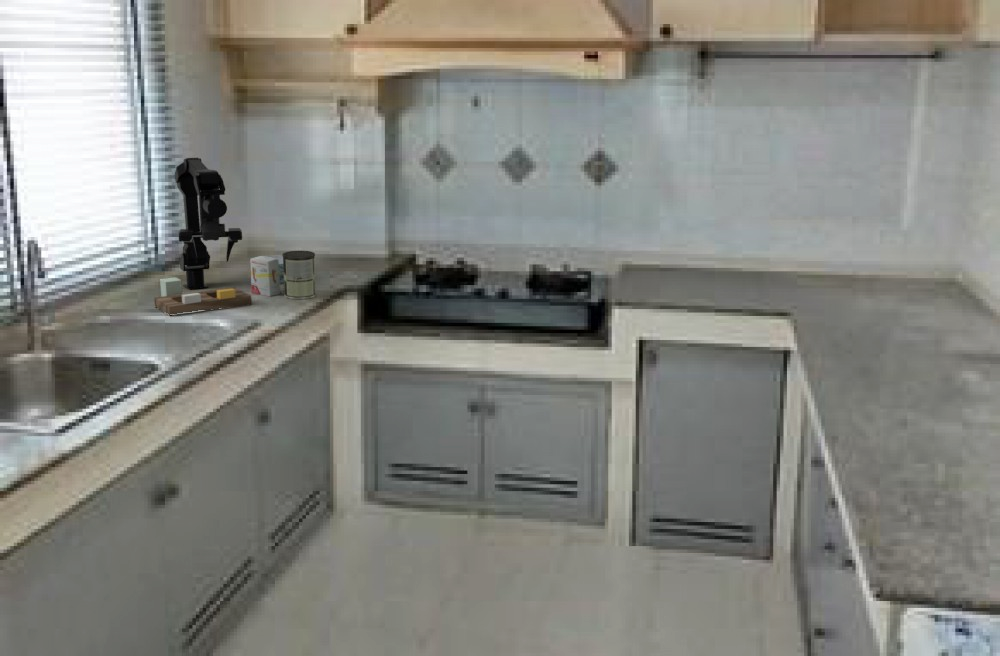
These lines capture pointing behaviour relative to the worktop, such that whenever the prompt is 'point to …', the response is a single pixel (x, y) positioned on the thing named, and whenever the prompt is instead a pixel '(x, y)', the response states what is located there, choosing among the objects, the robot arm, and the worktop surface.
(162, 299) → the socket block
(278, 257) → the chinaware
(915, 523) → the worktop surface
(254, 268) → the ink box
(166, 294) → the pale mint cube
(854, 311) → the worktop surface
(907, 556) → the worktop surface
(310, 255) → the coffee can
